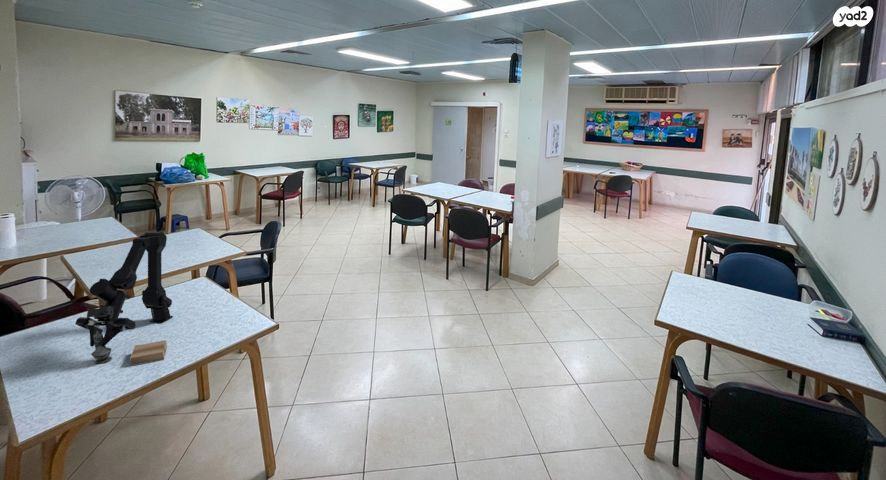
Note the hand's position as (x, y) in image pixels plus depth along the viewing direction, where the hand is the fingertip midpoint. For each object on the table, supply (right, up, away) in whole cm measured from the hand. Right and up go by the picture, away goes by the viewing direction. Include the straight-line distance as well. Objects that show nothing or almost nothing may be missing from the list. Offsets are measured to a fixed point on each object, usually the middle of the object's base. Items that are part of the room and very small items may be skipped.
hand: (96, 346), depth 160 cm
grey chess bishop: (0, -6, +3) cm, 7 cm away
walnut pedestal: (+15, -5, +6) cm, 17 cm away
